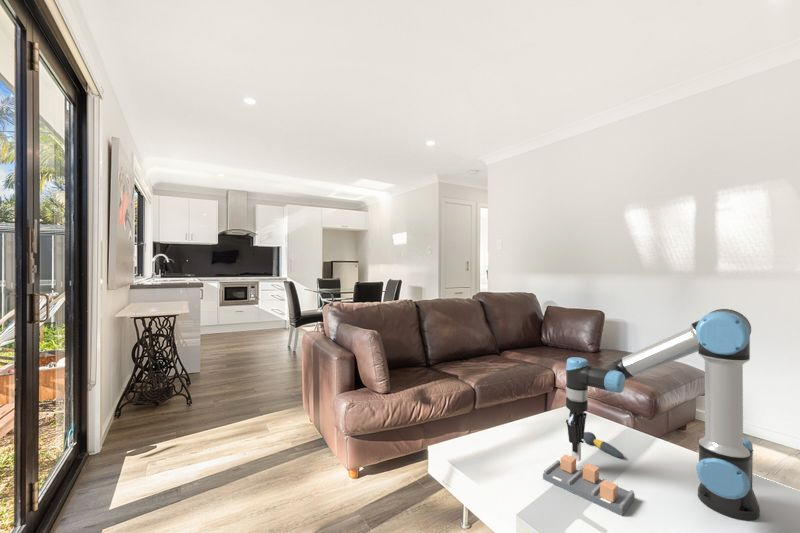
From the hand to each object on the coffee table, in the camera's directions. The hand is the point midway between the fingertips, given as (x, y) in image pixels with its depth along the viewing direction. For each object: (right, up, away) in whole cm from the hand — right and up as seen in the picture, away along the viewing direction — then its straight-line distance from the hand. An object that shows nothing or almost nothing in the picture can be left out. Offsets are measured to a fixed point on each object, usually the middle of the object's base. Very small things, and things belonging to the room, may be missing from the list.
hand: (576, 459), depth 142 cm
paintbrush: (+18, -4, +15) cm, 24 cm away
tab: (+1, -1, -21) cm, 21 cm away
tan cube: (-5, -1, -5) cm, 7 cm away
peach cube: (0, -1, -11) cm, 11 cm away
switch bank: (-3, -4, -13) cm, 14 cm away
